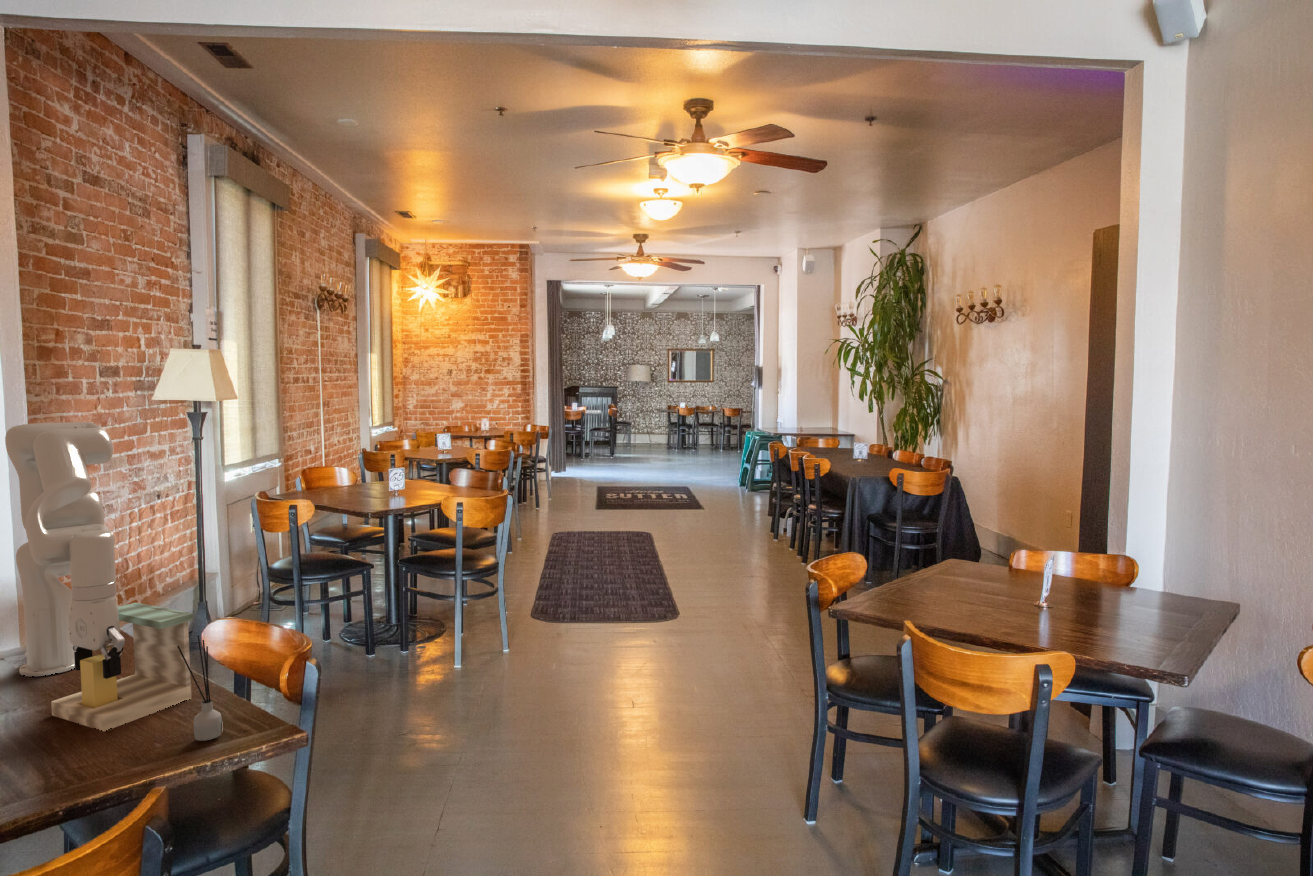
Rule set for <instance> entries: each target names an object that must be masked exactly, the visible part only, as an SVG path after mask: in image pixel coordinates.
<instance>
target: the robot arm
mask: <svg viewBox="0 0 1313 876" xmlns="http://www.w3.org/2000/svg"><path fill="white" fill-rule="evenodd" d="M4 439H5V440H4V441H5V449H6V453H7V455H8V457H9V459H10V462H11V463H12V465H13V467H14V470H15V471H16V473H17V476H18V481H19V498H20V499H19V500H20V515H21V523H22V525H23V528H24V529H25V533H26V537H27V542H25V543H23V544H22V545H21V546H19V548H18V549H17V550H16V553H15V563H16V566H17V570H18V575H19V578H20V579H19V580H20V583H21V590H22V600H23V602H22V603H23V614H24V617H23V619H24V630H25V631H24V633H25V634H24V635H25V648H26V651H24V655H25V657H26V663H24V664H22V665H21V666H20V668H19V669H18V670H19V675H21V676H23V675H25V676H24V677H32V676H34V677H43V676H44V677H46V676H51V674H53V675H56V674H55V673H58V674H62V673H66V672H68V671H71V669H72V670H75V671H81V669H80V660H83V659H86V658H90V657H93V655H94V654H93V651H94V652H95V651H99V650H100V651H101V654H103V656H104V658H105V659H103V678H105V679H108V678H111V677H114V676H116V677H117V676H119V675H121V674H122V661H121V660H122V659H121V658H122V656H123V651H124V645H125V642H126V640H125V637H124V636H123V635H122V634H121V627H120V625H121V624H120V621H119V616H118V609H117V607H118V603H117V599H116V597H117V576H116V573H117V572H116V556H115V555H116V554H115V551H116V550H115V542H116V539H115V533H114V532H113V530H111V529H110V527H108V525H105V511H104V504H103V502H102V499H101V497H100V495H99V494H98V493H97V492H95V491H93V490H91V489H92V481H91V479H90V475H89V472H88V468H87V466H90V465H100V464H101V465H102V464H107V463H108V462H110V461H111V459H112V458H113V455H114V445H113V441H112V439H111V437H110V435H109V433H108V431H106V430H105V428H103V427H102V426H100V425H98V424H96V423H94V422H92V421H91V422H89V421H73V422H72V421H71V422H70V421H68V422H41V423H40V422H39V423H38V422H37V423H25V424H19V425H15V426H12V427H11V428H9V429H8V430H7V431H6V433H5V436H4ZM66 576H70V586H71V588H70V587H69V586H67V585H66V584H65V583H63V582H62V581H60V580H59V578H61V577H66ZM110 648H111V649H110ZM109 649H110V650H109ZM74 668H75V669H74ZM45 675H46V676H45Z"/></svg>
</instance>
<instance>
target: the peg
mask: <svg viewBox="0 0 1313 876" xmlns="http://www.w3.org/2000/svg"><path fill="white" fill-rule="evenodd" d="M103 659H105V658H104V656H103V654H102V653H100V654H97V655H94V656H93V657H90V658H86V659H83V660H80V669H81V670H80V684H81V685H80V686H81V687H80V688H81V692H82V705H83V706H86V707H89V708H93V709H94V708H97V707H100V706H103V705H106V704H109V703H111V702H114V701H117V700H118V696H117V680H118V677H117V676H114V677H111V678H108V679H105V678H103Z"/></svg>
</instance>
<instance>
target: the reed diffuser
mask: <svg viewBox="0 0 1313 876" xmlns="http://www.w3.org/2000/svg"><path fill="white" fill-rule="evenodd" d="M197 640H198V648H199V655H200V663H201V668H202V669H201V670H202V676H203V677H202V678H203V683H204V691H205V696H204V693H203V692H202V690H201V688H200V686H199V683H198V682H197V679H196V678H195V676H194V674H193V671H192V669H191V666H190V667H189V665H188V663H187V661H186V659H185V657H184V655H183V653H182V651H181V649H180V647H179V646H177V647H178V649H179V651H180V653H181V655H182V657H183V659H184V661H185V663H186V665H187V667H188V669H189V671H190V676H191V678H192V679H193V680H194V683H195V685H196V688H197V689H198V691H199V694H200V695H201V697H202V701H201V703H200V704H201V705H200V707H201V708H200V709H201V710H200V712H198V714H196V715H195V716H194V719H193V721H192V722H193V735H194V739H195V740H196V741H203V742H205V741H208V740H209V741H210V740H213V739H216V738H219V736H221V735H222V733H223V723H224V722H223V719H222V714H221V712H219V711H218V710H216V709H214V707H213V700H212V699H211V694H210V684H209V646H208V645H205V639H202V645H201V642H200V641H201V640H200V634H198V635H197ZM201 646H202V647H201ZM202 648H203V653H202ZM202 654H203V655H202ZM203 656H204V658H203ZM203 659H204V660H203Z"/></svg>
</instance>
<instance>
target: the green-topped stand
mask: <svg viewBox="0 0 1313 876" xmlns="http://www.w3.org/2000/svg"><path fill="white" fill-rule="evenodd" d="M117 609H118V616H119V622H125V623H129V624H132V635H133V636H132V639H133V640H132V641H133V660H134V674H131V675H129V676H126V677H122V678H119V679H117V696H118V700H117V701H114V702H111V703H109V704H106V705H103V706H100V707H97V708H94V709H93V708H89V707H86V706H83V705H82V691H79V692H76V693H73V694H70V695H67V696H63V697H60V698H57V699H55V700H52V701H50V706H51V716H52V717H56V718H59V719H62V720H66V721H69V722H73V723H76V724H78V723H79V724H78V725H80V726H85V727H88V728H92V729H94V728H96V729H95V730H97V729H99V730H98V731H101V730H102V731H101V732H106V730H107V731H109V730H108V729H110V728H112V729H115V728H117V727H120V726H123V725H125V723H126V724H128V723H131V722H133V721H136V720H139V719H141V718H143V717H147V716H150V715H153V714H154V713H157V711H158V712H160V711H164V710H166V709H168V707H169V708H171V707H173V706H172V705H174V706H176V704H177V705H179V704H181V703H180V702H182V701H184V700H187V701H190V700H192V683H191V678H192V676H191V673H190V671H189V669H188V667H187V665H186V663H185V661H184V659H183V657H182V655H181V653H180V651H179V649H178V647H177V646H179V647H180V649H181V651H182V653H183V655H184V657H185V659H186V661H187V663H188V665H189V667H190V668H191V661H190V659H191V658H190V657H191V656H190V641H189V640H190V639H189V637H190V635H189V622H191V621H194V613H193V612H188V611H182V610H179V609H178V610H177V609H172V608H167V607H162V606H161V607H160V606H155V605H152V604H151V605H149V604H145V603H140V602H133V603H129V604H124V605H120V606H117ZM189 699H190V700H189ZM178 703H179V704H178ZM182 703H183V702H182ZM170 706H171V707H170ZM165 708H166V709H165ZM159 710H160V711H159ZM149 714H150V715H149ZM110 730H111V729H110Z"/></svg>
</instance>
